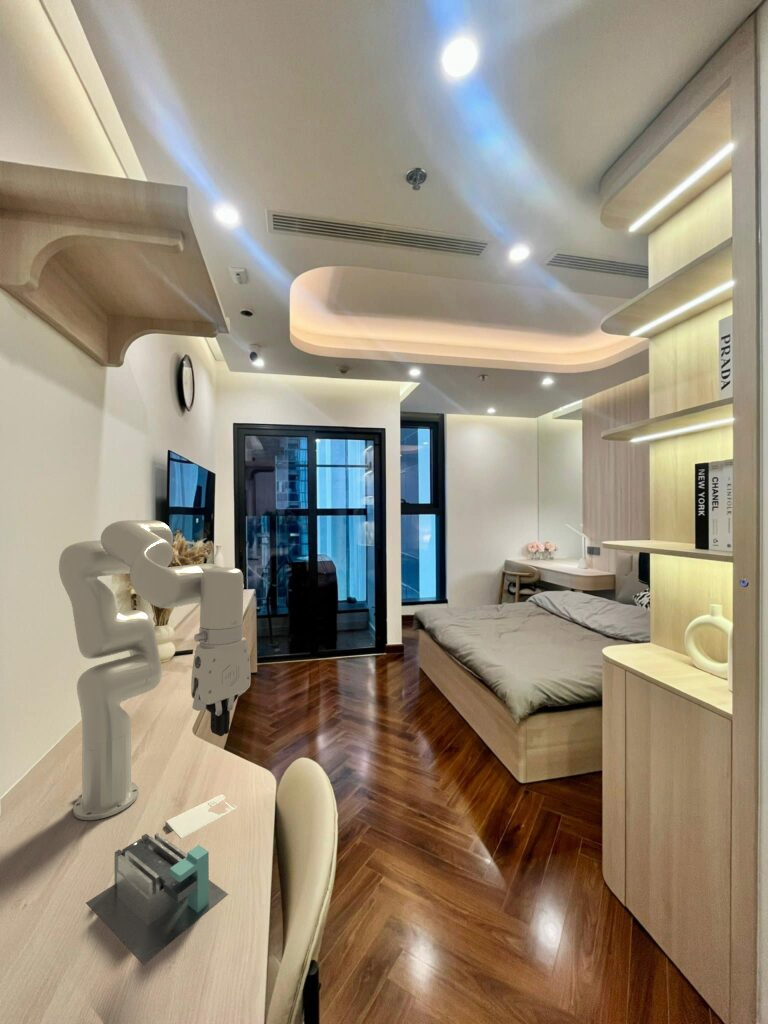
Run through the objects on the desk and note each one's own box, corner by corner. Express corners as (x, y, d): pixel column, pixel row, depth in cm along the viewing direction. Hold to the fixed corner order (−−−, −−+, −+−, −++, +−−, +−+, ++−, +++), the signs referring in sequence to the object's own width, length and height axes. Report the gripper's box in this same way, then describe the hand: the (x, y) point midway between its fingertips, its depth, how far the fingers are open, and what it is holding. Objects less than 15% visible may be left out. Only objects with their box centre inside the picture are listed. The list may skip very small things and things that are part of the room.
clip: (170, 918, 69) (169, 864, 69) (198, 895, 73) (198, 844, 73) (179, 927, 68) (179, 872, 68) (208, 903, 72) (208, 851, 72)
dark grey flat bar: (121, 856, 77) (121, 848, 77) (139, 845, 79) (139, 837, 79) (177, 903, 67) (177, 893, 67) (197, 888, 69) (197, 879, 69)
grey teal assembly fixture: (86, 908, 72) (86, 863, 72) (168, 854, 84) (168, 815, 84) (143, 971, 62) (143, 918, 62) (228, 900, 73) (228, 855, 74)
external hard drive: (165, 828, 92) (221, 799, 101) (181, 847, 86) (239, 815, 96) (165, 820, 92) (221, 792, 101) (181, 839, 86) (239, 808, 96)
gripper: (196, 647, 73) (194, 757, 73) (266, 629, 86) (265, 722, 86) (171, 640, 78) (170, 743, 77) (241, 623, 90) (240, 712, 90)
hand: (220, 732), depth 81 cm, fingers closed
